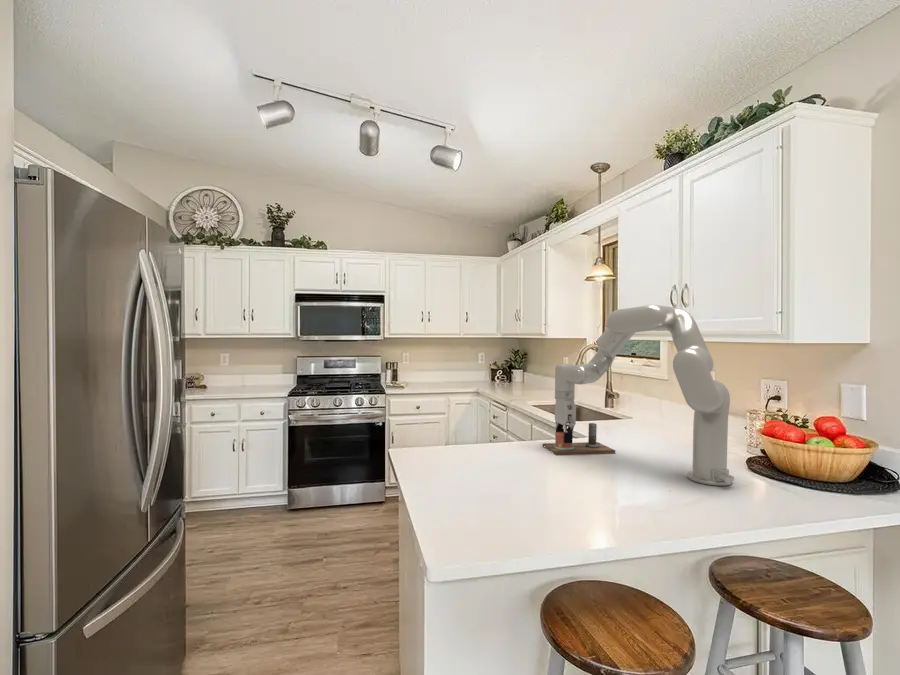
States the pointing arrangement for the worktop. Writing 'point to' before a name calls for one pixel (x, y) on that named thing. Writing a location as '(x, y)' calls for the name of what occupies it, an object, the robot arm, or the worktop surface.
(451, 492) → the worktop surface
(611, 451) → the post board
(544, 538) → the worktop surface
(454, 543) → the worktop surface
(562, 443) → the cap
